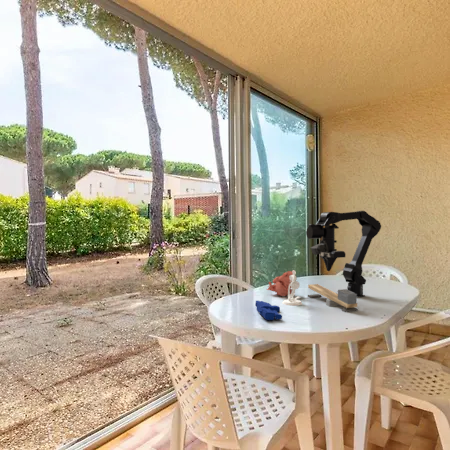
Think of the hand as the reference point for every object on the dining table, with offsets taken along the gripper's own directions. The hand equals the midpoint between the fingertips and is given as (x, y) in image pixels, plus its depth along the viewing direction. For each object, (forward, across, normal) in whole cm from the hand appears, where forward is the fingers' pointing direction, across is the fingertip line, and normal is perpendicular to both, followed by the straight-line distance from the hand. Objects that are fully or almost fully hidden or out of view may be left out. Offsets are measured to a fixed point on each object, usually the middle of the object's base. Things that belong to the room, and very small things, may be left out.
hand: (328, 270), depth 162 cm
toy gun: (+14, +15, -38) cm, 43 cm away
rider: (+10, +20, -5) cm, 23 cm away
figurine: (+13, +3, -21) cm, 25 cm away
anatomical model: (+13, -13, -19) cm, 27 cm away
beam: (+10, +9, -5) cm, 14 cm away
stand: (+13, +9, -5) cm, 17 cm away
